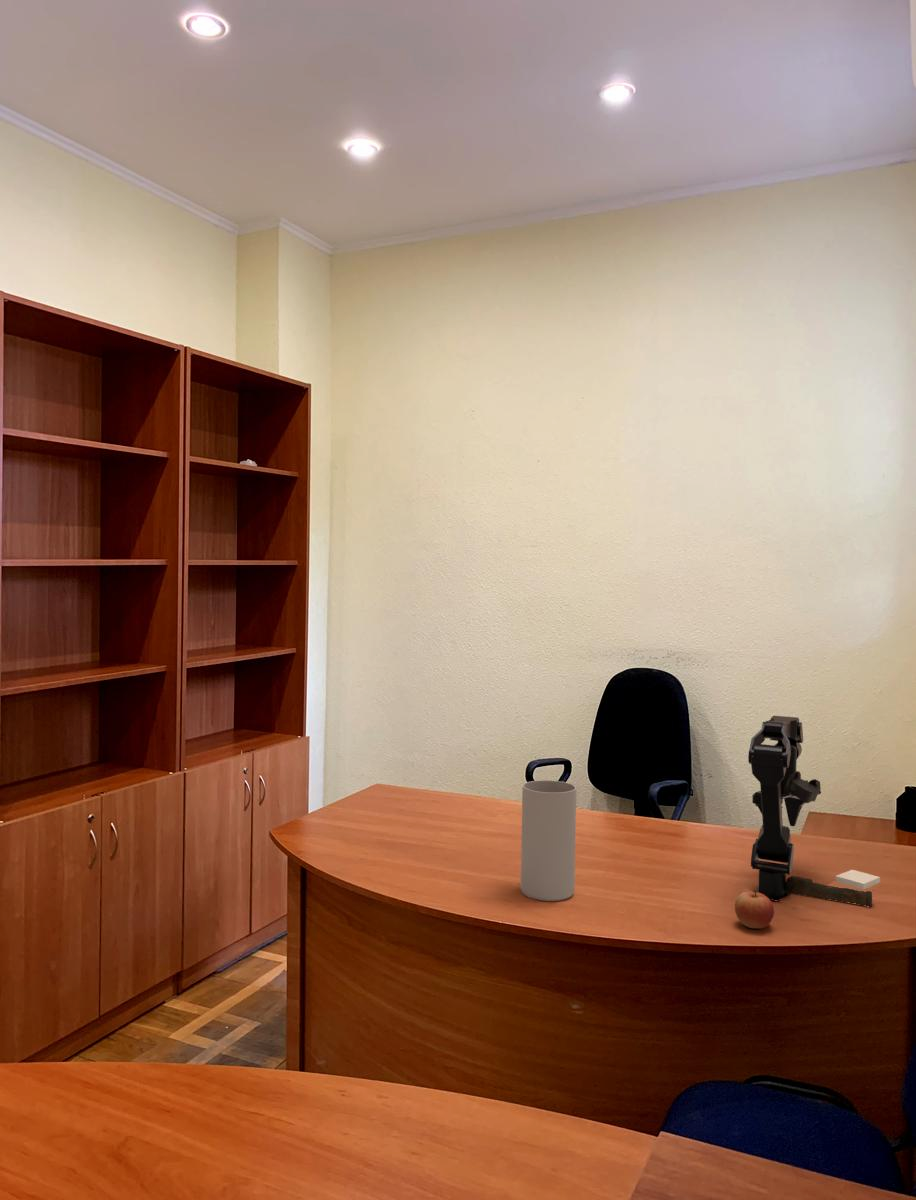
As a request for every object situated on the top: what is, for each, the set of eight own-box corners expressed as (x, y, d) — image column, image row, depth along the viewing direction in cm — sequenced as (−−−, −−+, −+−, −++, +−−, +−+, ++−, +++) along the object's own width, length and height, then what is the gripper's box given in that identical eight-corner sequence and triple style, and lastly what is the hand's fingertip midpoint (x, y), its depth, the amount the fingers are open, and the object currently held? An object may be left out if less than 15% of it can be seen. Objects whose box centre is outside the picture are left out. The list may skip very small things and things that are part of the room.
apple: (746, 916, 199) (747, 880, 199) (780, 927, 193) (781, 890, 193) (726, 925, 193) (727, 888, 193) (760, 936, 188) (761, 898, 187)
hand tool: (872, 906, 207) (873, 886, 206) (870, 912, 203) (871, 891, 203) (786, 891, 216) (786, 871, 216) (782, 895, 213) (783, 876, 213)
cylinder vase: (585, 894, 211) (587, 787, 210) (548, 906, 203) (550, 795, 202) (546, 880, 220) (548, 778, 220) (509, 891, 212) (511, 785, 211)
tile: (863, 883, 214) (880, 877, 219) (835, 875, 220) (852, 869, 225) (863, 891, 214) (879, 884, 219) (835, 883, 220) (851, 876, 225)
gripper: (793, 777, 213) (792, 843, 213) (834, 767, 224) (832, 830, 225) (751, 769, 221) (750, 832, 222) (792, 760, 233) (791, 820, 233)
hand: (782, 829), depth 225 cm, fingers open, 9 cm apart
